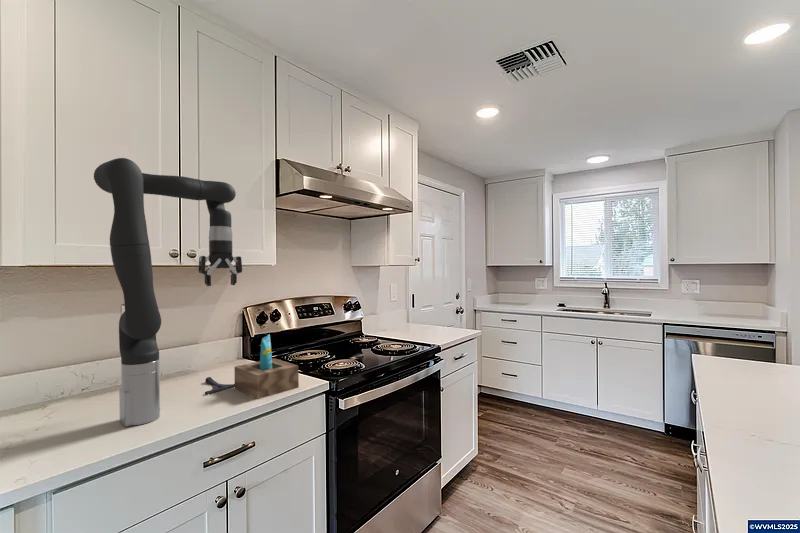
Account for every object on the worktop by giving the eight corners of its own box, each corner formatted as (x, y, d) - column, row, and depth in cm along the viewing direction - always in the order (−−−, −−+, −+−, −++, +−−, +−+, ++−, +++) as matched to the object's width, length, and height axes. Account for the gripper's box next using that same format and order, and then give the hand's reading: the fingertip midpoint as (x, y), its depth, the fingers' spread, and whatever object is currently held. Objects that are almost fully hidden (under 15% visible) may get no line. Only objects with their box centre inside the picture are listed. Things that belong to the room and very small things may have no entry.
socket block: (257, 398, 128) (257, 375, 128) (234, 388, 139) (234, 366, 139) (298, 387, 140) (298, 365, 140) (274, 378, 151) (274, 358, 151)
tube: (270, 391, 136) (269, 337, 136) (256, 391, 136) (256, 337, 135) (275, 384, 143) (274, 333, 143) (262, 384, 143) (261, 334, 143)
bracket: (225, 379, 152) (225, 372, 152) (245, 386, 144) (245, 378, 143) (187, 389, 141) (187, 381, 141) (207, 397, 132) (206, 389, 132)
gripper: (204, 238, 127) (204, 286, 127) (245, 240, 137) (245, 284, 137) (195, 239, 132) (195, 286, 132) (235, 241, 142) (236, 284, 142)
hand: (221, 285), depth 135 cm, fingers open, 8 cm apart
